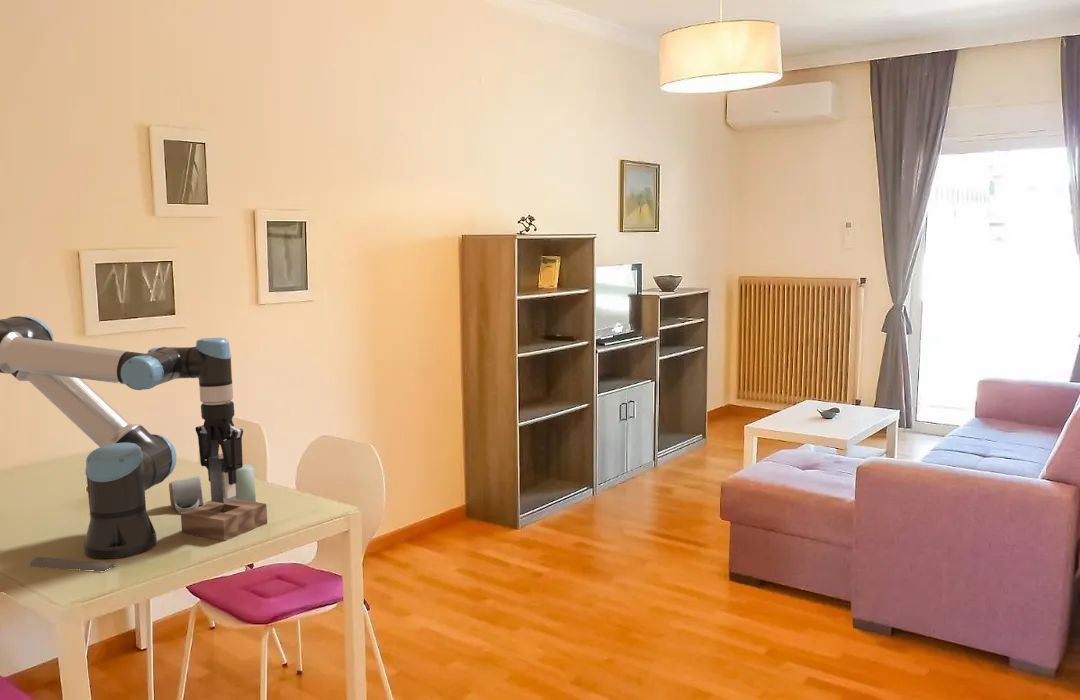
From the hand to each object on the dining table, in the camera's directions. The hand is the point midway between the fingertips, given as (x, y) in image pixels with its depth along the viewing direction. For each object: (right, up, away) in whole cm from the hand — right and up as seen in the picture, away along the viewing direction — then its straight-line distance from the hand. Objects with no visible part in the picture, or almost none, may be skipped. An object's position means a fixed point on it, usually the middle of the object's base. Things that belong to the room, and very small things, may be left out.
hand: (223, 495), depth 213 cm
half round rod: (-25, -12, -22) cm, 36 cm away
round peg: (-1, -6, +17) cm, 18 cm away
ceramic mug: (-16, -6, +19) cm, 26 cm away
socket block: (0, -8, +1) cm, 8 cm away
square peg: (0, -1, 0) cm, 1 cm away
